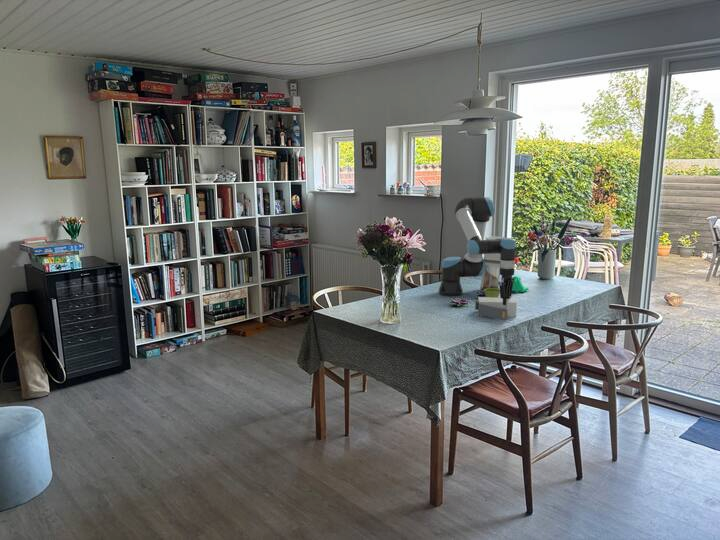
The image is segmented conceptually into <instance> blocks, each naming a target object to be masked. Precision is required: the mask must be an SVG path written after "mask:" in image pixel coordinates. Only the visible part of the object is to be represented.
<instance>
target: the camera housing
mask: <svg viewBox="0 0 720 540" xmlns="http://www.w3.org/2000/svg"><path fill="white" fill-rule="evenodd" d="M479 304H484V305H489V306H494V307H499V308H502V307H503V299H502V298H500V297H498V298H494V297H486V296H483V297H482V296H478V297H477V300H475V305H474V308H475V309H474V310H476V311H477V313H478V314H479ZM517 306H518V303H517V300H516V298H515V297H511V299H509V306H508V311H507V316H513V318H515V317H517ZM514 316H515V317H514ZM479 317H484V316H483V315H480V316H479Z"/></svg>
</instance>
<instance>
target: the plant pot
mask: <svg viewBox="0 0 720 540" xmlns="http://www.w3.org/2000/svg"><path fill="white" fill-rule="evenodd" d="M484 291H485V292H484V293H485V297H494V298H499V297H500V296H499V295H500V288H499V289H494V288H486V289H484Z"/></svg>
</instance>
